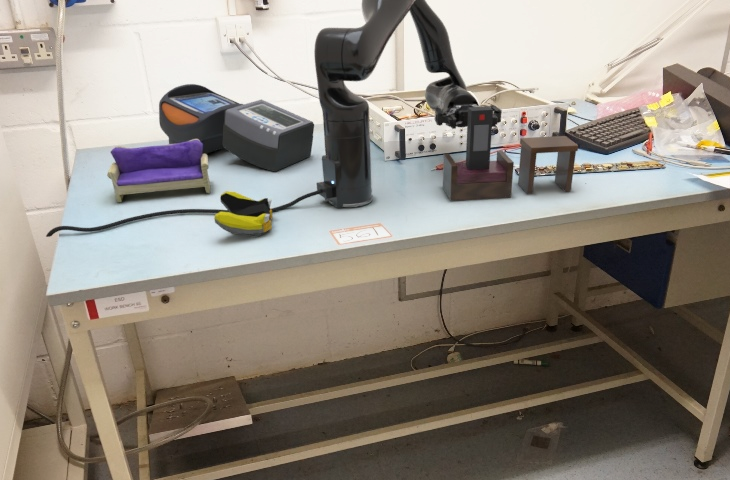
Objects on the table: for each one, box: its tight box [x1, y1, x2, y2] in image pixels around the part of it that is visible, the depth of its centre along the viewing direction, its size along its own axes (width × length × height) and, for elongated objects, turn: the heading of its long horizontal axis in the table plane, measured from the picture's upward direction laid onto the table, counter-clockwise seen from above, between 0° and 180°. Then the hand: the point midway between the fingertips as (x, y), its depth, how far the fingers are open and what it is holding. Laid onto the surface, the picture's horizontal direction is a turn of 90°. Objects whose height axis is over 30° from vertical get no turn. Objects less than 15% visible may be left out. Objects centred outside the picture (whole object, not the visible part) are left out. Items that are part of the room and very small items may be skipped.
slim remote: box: [465, 105, 493, 170], centre depth 135 cm, size 4×3×12 cm
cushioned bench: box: [442, 150, 515, 202], centre depth 139 cm, size 13×9×8 cm
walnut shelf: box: [517, 135, 579, 195], centre depth 140 cm, size 10×8×10 cm
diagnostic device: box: [158, 83, 315, 172], centre depth 167 cm, size 38×17×22 cm
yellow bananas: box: [214, 190, 273, 238], centre depth 125 cm, size 15×6×10 cm
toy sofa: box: [107, 139, 211, 203], centre depth 143 cm, size 21×9×10 cm, turn 104°
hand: (474, 122), depth 138 cm, fingers open, 8 cm apart
